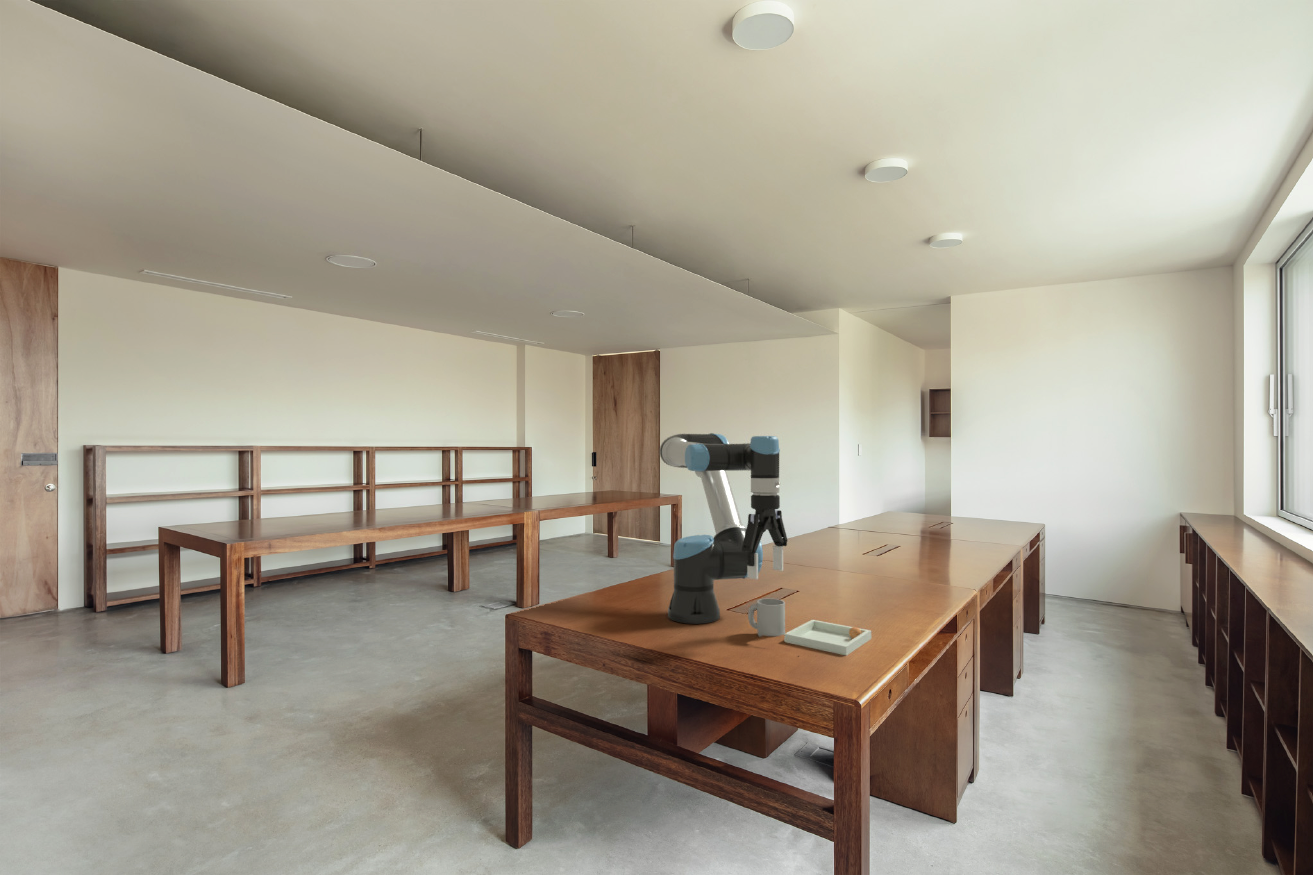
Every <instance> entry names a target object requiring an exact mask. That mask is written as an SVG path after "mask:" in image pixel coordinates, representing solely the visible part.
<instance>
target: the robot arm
mask: <svg viewBox="0 0 1313 875" xmlns="http://www.w3.org/2000/svg"><path fill="white" fill-rule="evenodd" d="M779 442H780V441H779V438H778V437H777V436H775V435H756V436H755V435H753V436H752V437H750V443H749V442H747V443H746V442H745V443H729V440H728V439H727V437H726V436H724V435H723V434H720V433H713V432H711V433H677V434H673V435H671V436H669V437H667V438H665V439H664V440H663V441H662V443H661V445H660V448H659V456H660V458H661V460H662V461H663V463H665V464H666V465H668V466H670V467H673V468H682V469H684V468H685V469H687V470H688V471H690V472H691V471H692V472H694V474H695V475H696V476H697V477H699V478H700V479H701V482H702V486H703V489H704V494H705V497H706V498H705V499H706V501H707V505H708V509H709V512H710V516H711V521H712V523H713V527H714V531H715V534H714V535H713V536H712V535H710V534H701V535H700V534H697V535H689V536H685V537H681V538H679V539H678V540H676V541H675V542H674V545H673V554H672V558H673V591H672V592H673V593H672V595H671V598H670V601H669V605H668V608H667V618H668V619H670V620H671V621H673V622H677V623H682V624H690V625H694V624H695V625H698V624H699V625H700V624H708V623H713V622H716V621H718V620H719V619H720V617H721V616H720V615H721V614H720V612H721V611H720V607H719V604H718V601H717V597H716V594H715V590H714V589H715V588H714V581H715V580H716V581H719V580H737V579H739V580H740V579H743V580H744V579H745V580H746V579H752V580H758V579H759V573H760V571H761V568H762V567H763V566H762V565H763V559H764V553H763V552H764V550H763V549H764V548H763V545H762V542H761V539H762V537H763V535H764V533H765V532H768V533H769V535H770V537H771V539H772V542H773V544H774V545H773V546H772V570H773V571H781V572H783V571H784V547H787V545H788V536H787V533H786V528H785V524H784V521H783V514H782V510H780V506H781V503H780V502H781V500H780V495H779V494H778V493H780V486H781V482H780V452H781V449H780V443H779ZM727 471H731V472H732V471H737V472H738V471H741V472H742V471H747V472H749V471H750V493H751V496H750V507H751V509H753V510H755V511H754V513H748V514H747V525H746V527H745V526H744V525H743V523H742V519H741V516H740V513H739V510H738V507H737V503H736V500H735V496H734V493H733V490H732V486H731V484H730V481H729V477H728V474H727Z"/></svg>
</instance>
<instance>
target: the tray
mask: <svg viewBox="0 0 1313 875" xmlns="http://www.w3.org/2000/svg"><path fill="white" fill-rule="evenodd" d="M852 627H853V626H849V625H843V624H839V623H832V622H826V621H822V620H817V619H811V620H809V621H807V622H805V623H802V624H800V625H799V626H797V627H795V628H793V629H791V630H789V631H787V632H785V634H784V637H783V638H784V642H785V643H786V644H792V645H796V646H801V647H805V648H809V649H814V650H819V651H825V652H829V653H833V654H837V655H840V656H841V655H842V656H849V655H850V654H851V653H852V652H854V651H855V650H857V649H858V648H860V647H861V646H863V645H864V644H866V643H867V642H869V641H870V640H872V630H870V629H865V628H860V627H858V628H859V629H860V630H861V634H860V635H859V636H857V637H855V638H854V639H852V638H851V637H850V635H849V630H850V629H851V628H852Z"/></svg>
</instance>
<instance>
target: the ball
mask: <svg viewBox="0 0 1313 875" xmlns="http://www.w3.org/2000/svg"><path fill="white" fill-rule="evenodd" d="M851 627H852V628H851V629H850V630H849V635H850V637H851V638H852V639H854V638H855V637H857V636H859V635H860V634H861V630H860V629H861V628H860V627H857V626H851ZM859 628H860V629H859Z"/></svg>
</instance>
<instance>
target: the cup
mask: <svg viewBox="0 0 1313 875" xmlns="http://www.w3.org/2000/svg"><path fill="white" fill-rule="evenodd" d="M755 611H756V618H757V619H756V621H757V622H756V621H755V616H754V615H755ZM747 618H748V619H747V620H748V623H749V625H750V626H751V627H752V629H755V630H757V635H758V637H759V638H760V637H762V636H765V637H766V636H767V637H780V636H781V637H782V636H783V635H784V634H785V633H786V602H785V601H784V600H782V599H778V598H760V599H757V601H756V603H753V604H751V605H750V606H749V608H748V612H747Z"/></svg>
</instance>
